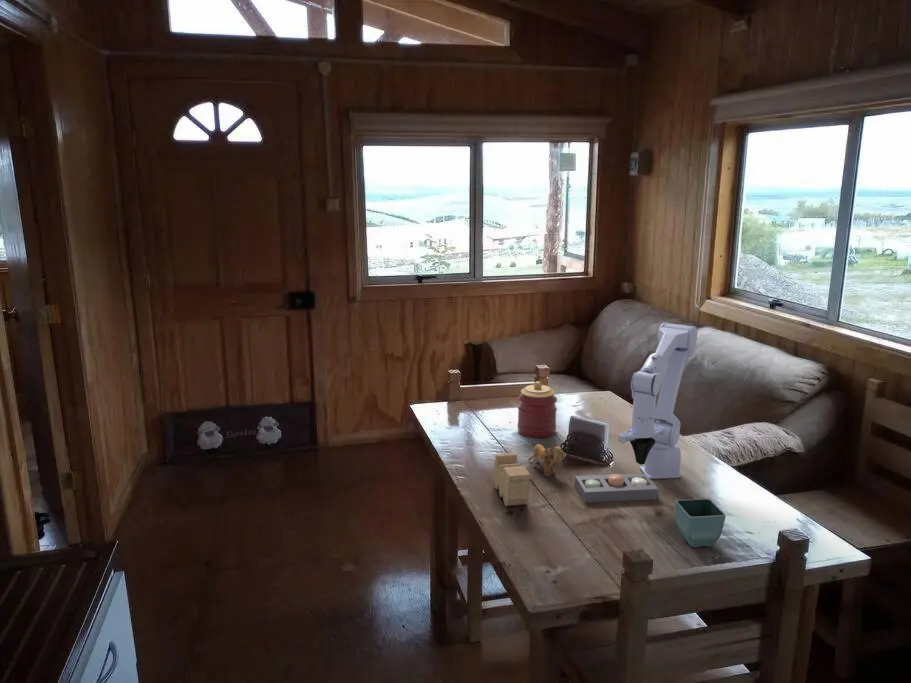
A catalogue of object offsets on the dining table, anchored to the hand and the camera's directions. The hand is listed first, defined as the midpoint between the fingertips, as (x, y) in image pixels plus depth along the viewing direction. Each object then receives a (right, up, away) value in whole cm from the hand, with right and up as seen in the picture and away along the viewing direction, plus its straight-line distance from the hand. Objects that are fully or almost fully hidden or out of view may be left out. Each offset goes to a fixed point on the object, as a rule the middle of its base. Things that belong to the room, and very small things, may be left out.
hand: (640, 463), depth 186 cm
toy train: (-35, -9, -1) cm, 36 cm away
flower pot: (+7, -15, -24) cm, 29 cm away
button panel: (-7, -8, +1) cm, 11 cm away
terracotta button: (-7, -7, +1) cm, 10 cm away
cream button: (0, -8, +2) cm, 8 cm away
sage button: (-13, -8, +1) cm, 15 cm away
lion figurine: (-24, -5, +16) cm, 29 cm away
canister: (-23, +2, +46) cm, 51 cm away
